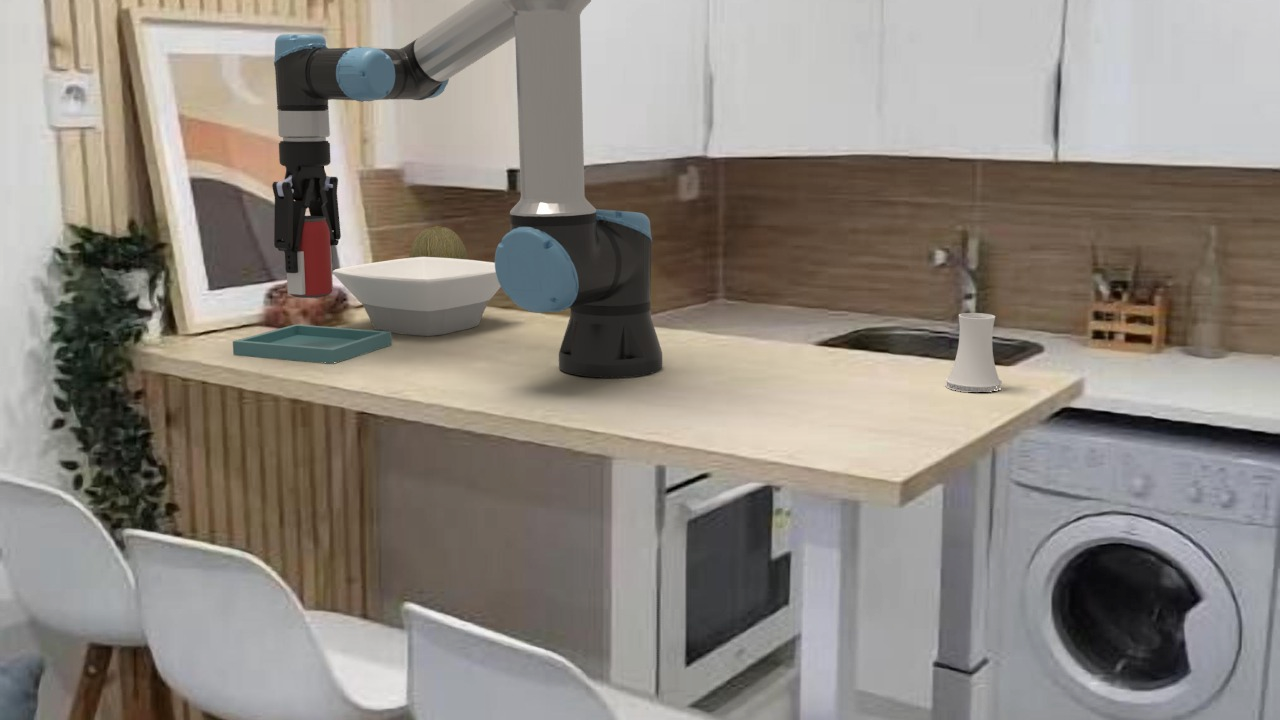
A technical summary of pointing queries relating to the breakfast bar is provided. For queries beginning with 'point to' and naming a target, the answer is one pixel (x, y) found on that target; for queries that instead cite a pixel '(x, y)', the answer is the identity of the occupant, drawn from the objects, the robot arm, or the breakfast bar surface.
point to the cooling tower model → (974, 356)
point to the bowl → (422, 293)
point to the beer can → (316, 257)
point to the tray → (312, 343)
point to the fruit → (438, 244)
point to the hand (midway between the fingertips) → (310, 290)
